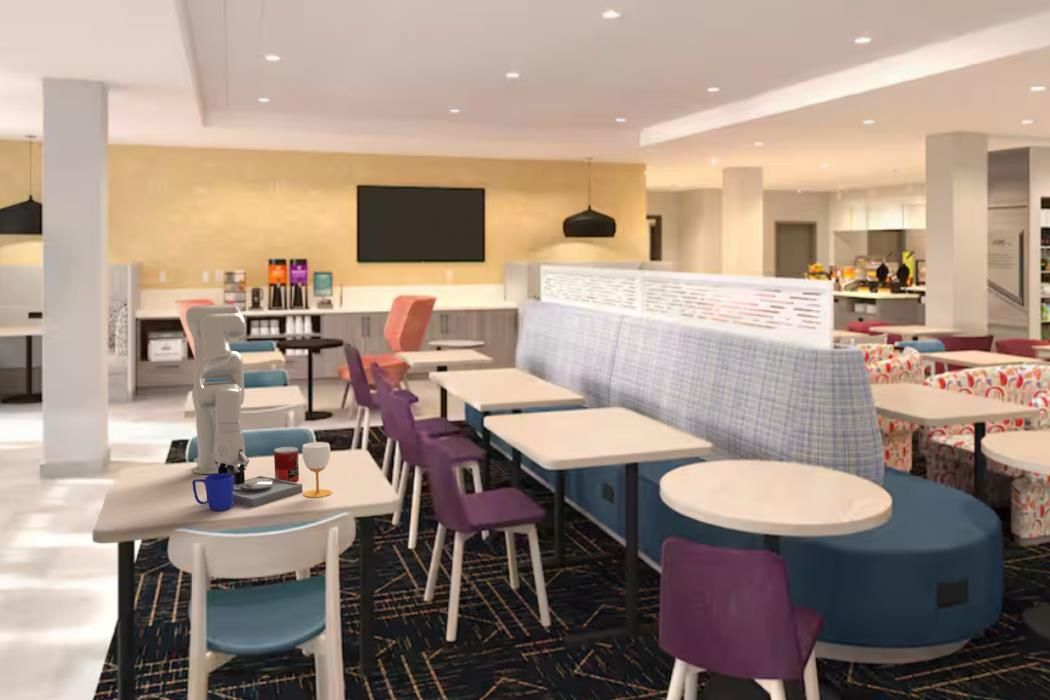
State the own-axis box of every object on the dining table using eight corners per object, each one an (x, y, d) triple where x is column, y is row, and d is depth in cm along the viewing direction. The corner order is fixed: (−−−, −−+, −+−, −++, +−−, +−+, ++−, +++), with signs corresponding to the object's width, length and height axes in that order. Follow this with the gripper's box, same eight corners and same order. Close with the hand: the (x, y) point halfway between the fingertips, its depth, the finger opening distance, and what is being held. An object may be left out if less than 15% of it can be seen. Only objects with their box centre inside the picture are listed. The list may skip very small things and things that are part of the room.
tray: (210, 497, 281) (210, 489, 281) (260, 483, 297) (260, 475, 297) (252, 507, 270) (252, 498, 270) (302, 491, 287) (302, 484, 286)
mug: (197, 505, 272) (196, 473, 271) (237, 504, 273) (236, 472, 272) (190, 513, 264) (188, 480, 263) (231, 512, 265) (229, 479, 264)
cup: (307, 499, 278) (305, 449, 276) (300, 492, 286) (298, 443, 284) (335, 495, 282) (333, 446, 280) (328, 488, 290) (326, 440, 288)
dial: (274, 481, 289) (273, 459, 288) (270, 489, 279) (269, 466, 278) (230, 483, 287) (228, 461, 286) (224, 491, 277) (223, 469, 276)
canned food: (293, 484, 296) (291, 452, 295) (271, 483, 298) (269, 451, 296) (303, 478, 303) (301, 447, 302) (281, 477, 305) (280, 446, 304)
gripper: (201, 426, 279) (204, 480, 281) (237, 432, 270) (240, 488, 272) (221, 422, 285) (223, 475, 287) (257, 427, 276) (259, 483, 278)
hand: (231, 481), depth 280 cm, fingers open, 7 cm apart
